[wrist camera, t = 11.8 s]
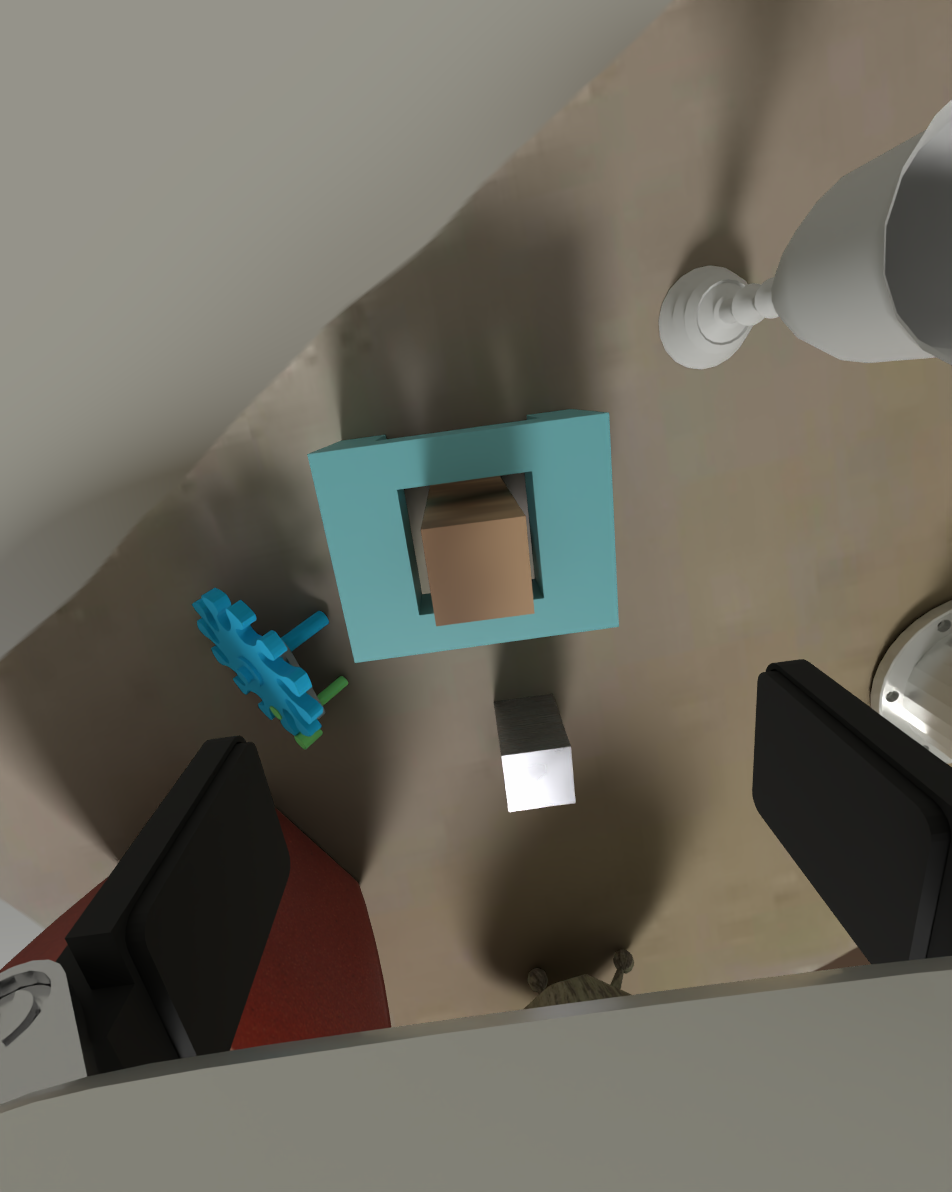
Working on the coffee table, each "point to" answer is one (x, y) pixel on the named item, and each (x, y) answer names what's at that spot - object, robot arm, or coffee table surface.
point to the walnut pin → (476, 552)
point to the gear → (267, 663)
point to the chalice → (843, 269)
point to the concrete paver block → (534, 753)
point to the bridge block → (388, 466)
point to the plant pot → (292, 955)
